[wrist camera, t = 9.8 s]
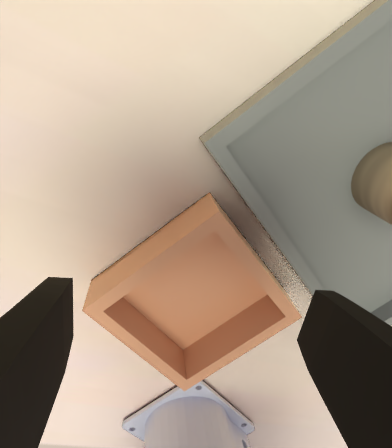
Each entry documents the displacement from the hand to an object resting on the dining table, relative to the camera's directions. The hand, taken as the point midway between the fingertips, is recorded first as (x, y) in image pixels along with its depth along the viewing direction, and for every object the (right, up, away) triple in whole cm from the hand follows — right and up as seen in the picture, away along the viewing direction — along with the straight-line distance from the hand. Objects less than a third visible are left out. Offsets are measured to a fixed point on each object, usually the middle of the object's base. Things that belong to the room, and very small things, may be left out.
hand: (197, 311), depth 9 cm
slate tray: (+11, +5, +11) cm, 16 cm away
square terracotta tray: (0, -2, +12) cm, 12 cm away
